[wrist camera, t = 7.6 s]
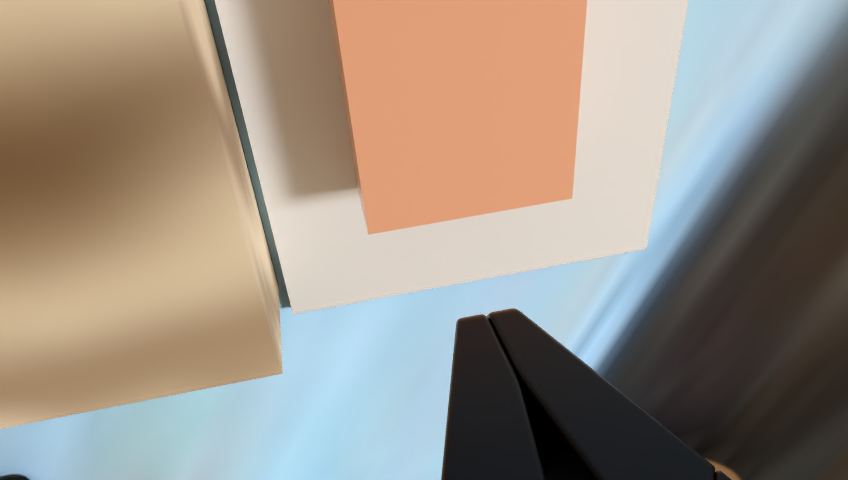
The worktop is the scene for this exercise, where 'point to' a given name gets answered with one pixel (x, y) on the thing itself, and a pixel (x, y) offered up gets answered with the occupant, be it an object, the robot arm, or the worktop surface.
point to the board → (123, 212)
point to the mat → (460, 238)
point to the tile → (459, 104)
